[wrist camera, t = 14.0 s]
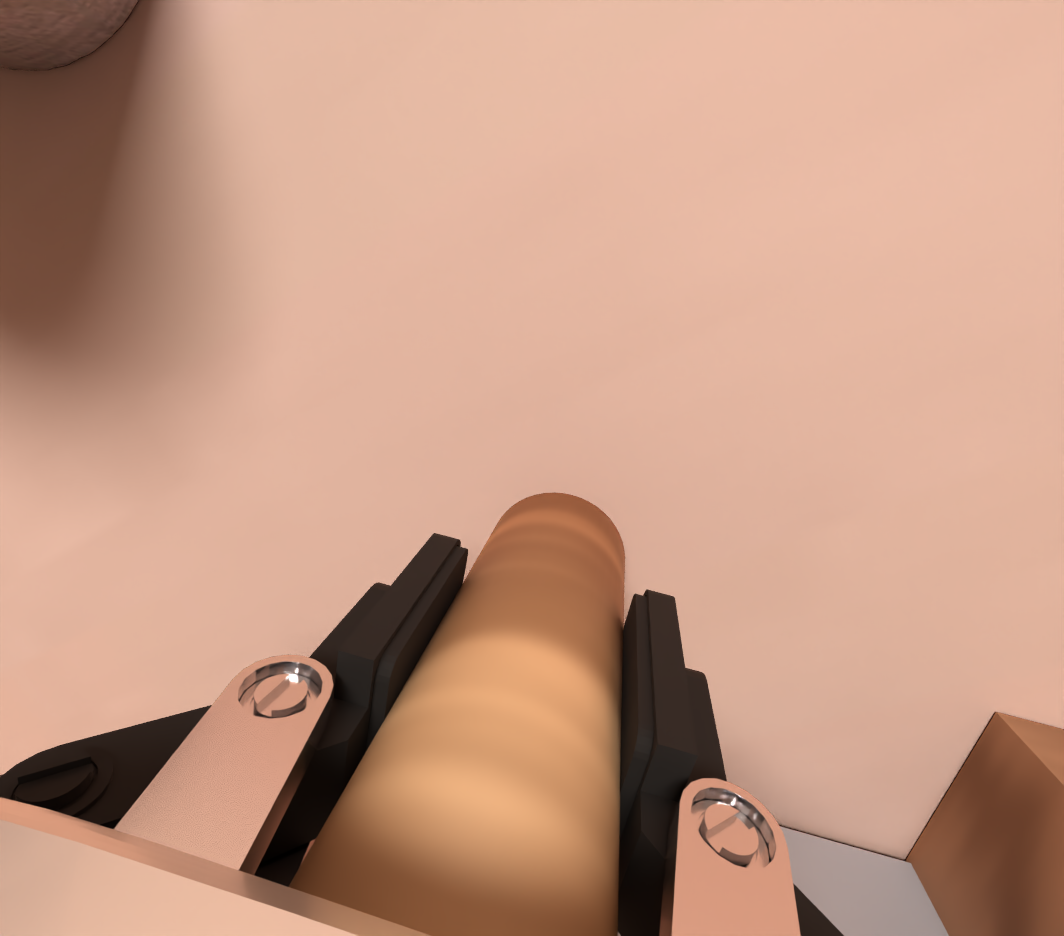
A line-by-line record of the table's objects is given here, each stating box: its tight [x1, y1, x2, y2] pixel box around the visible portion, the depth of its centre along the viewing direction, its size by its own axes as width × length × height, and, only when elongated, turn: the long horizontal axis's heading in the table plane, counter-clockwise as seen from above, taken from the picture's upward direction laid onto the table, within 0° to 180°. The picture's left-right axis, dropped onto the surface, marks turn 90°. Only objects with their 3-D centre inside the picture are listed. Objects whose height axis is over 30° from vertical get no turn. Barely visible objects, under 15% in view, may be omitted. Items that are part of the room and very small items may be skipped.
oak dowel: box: [289, 493, 625, 936], centre depth 8 cm, size 4×4×12 cm
